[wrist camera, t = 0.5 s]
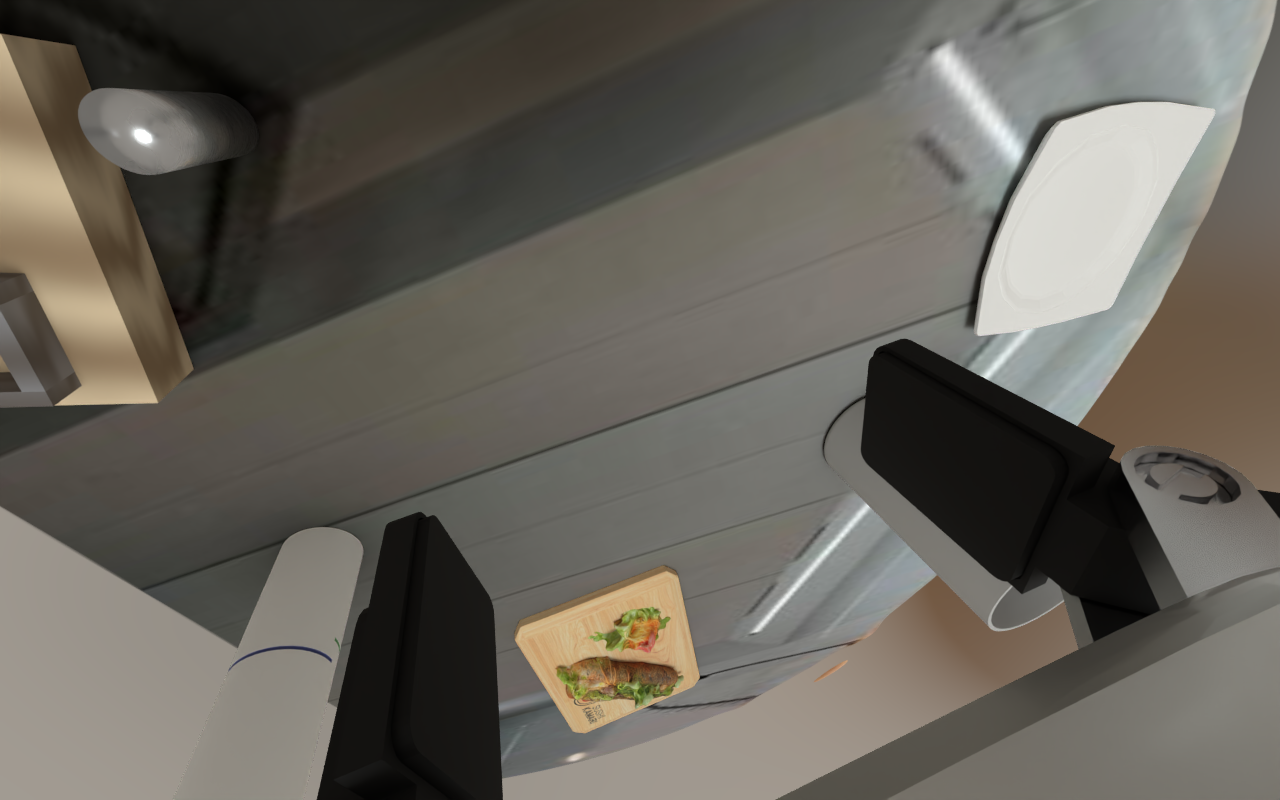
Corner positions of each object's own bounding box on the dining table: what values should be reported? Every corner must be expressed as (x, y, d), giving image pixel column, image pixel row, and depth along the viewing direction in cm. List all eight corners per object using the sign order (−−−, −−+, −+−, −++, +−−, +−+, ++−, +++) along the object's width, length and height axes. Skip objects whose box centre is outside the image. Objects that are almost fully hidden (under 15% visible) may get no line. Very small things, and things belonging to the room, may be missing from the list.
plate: (1026, 108, 45) (1053, 108, 43) (1199, 96, 51) (1231, 95, 49) (946, 337, 59) (964, 346, 57) (1090, 308, 64) (1112, 315, 62)
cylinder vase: (889, 373, 59) (1110, 515, 38) (911, 429, 66) (1106, 573, 46) (808, 434, 60) (979, 601, 40) (838, 482, 67) (996, 645, 47)
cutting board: (508, 620, 62) (512, 675, 56) (671, 557, 66) (692, 603, 60) (574, 726, 82) (583, 775, 76) (697, 674, 86) (714, 717, 80)
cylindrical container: (333, 516, 46) (224, 842, 26) (377, 557, 50) (314, 866, 30) (262, 547, 45) (92, 905, 25) (313, 586, 49) (202, 921, 29)
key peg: (181, 88, 28) (62, 81, 20) (251, 98, 29) (165, 95, 21) (200, 152, 29) (97, 169, 21) (265, 159, 31) (190, 179, 22)
